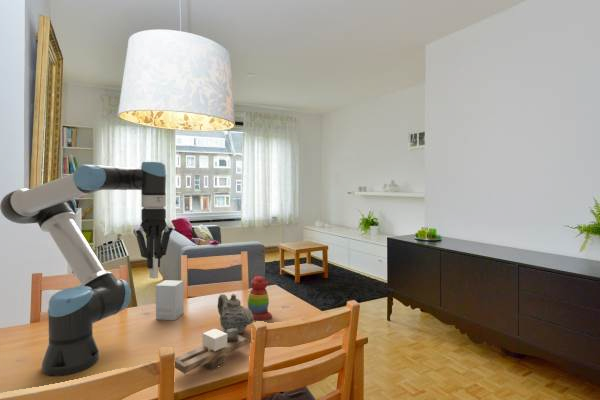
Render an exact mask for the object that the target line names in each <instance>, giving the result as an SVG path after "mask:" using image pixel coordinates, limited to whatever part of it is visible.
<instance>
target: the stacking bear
mask: <svg viewBox="0 0 600 400" xmlns="http://www.w3.org/2000/svg"><path fill="white" fill-rule="evenodd" d="M250 284H251V290H250V291H249V293H248V296H247V308H248V309H249V310H251V312H252V314H253V317H254V318H253V319H254V320H258V321H260V320H261V321H262V320H269V319H272V318H273V315H272V313H271V312H269V310H268V309H269V308H268V307H269V303H270V301H269V294H268V290H267V289H266V288H267V287H268V284H269V283H268V281H267V280H266V279H265V278H264V277H263V276H259V275H254V277H253V278H252V279H251V282H250Z"/></svg>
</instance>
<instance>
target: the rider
mask: <svg viewBox="0 0 600 400" xmlns="http://www.w3.org/2000/svg"><path fill="white" fill-rule="evenodd" d="M202 346H205V347H207V348H208V351H210V350H213V351H217V350H219V349H221V348H223V347H226V346H227V333H226V332H224V331H222V330H219V329H217V328H212V329H210V330H208V331H205V332H202Z"/></svg>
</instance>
